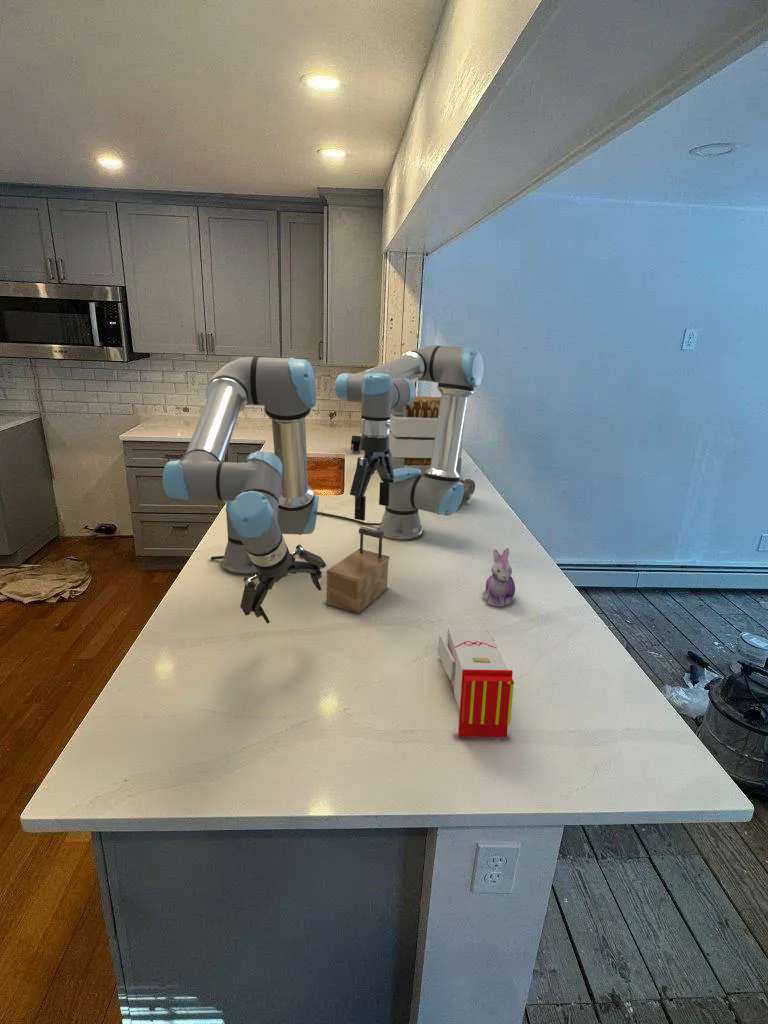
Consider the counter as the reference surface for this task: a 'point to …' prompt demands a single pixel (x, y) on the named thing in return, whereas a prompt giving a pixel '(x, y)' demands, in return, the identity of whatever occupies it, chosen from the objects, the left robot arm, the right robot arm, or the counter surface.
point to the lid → (360, 560)
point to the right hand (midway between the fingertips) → (372, 512)
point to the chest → (356, 590)
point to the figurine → (500, 581)
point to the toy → (478, 682)
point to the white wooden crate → (415, 433)
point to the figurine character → (355, 444)
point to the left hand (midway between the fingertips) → (292, 602)
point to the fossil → (467, 490)
